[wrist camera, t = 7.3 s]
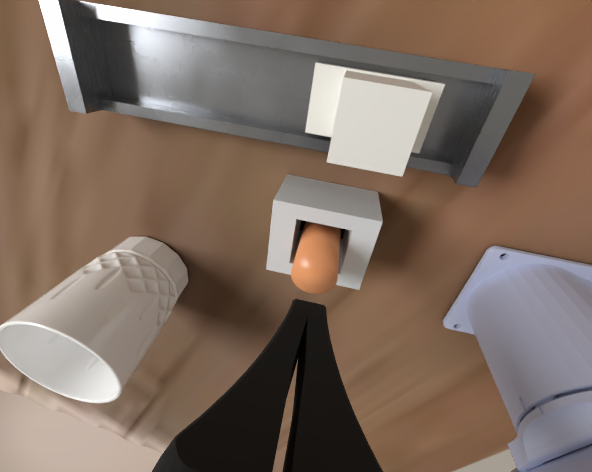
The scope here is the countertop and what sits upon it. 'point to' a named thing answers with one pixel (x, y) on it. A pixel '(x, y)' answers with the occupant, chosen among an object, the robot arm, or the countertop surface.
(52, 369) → the white cup
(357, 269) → the white hollow block
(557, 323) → the robot arm
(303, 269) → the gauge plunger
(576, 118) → the countertop surface
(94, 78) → the rail
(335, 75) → the carriage
